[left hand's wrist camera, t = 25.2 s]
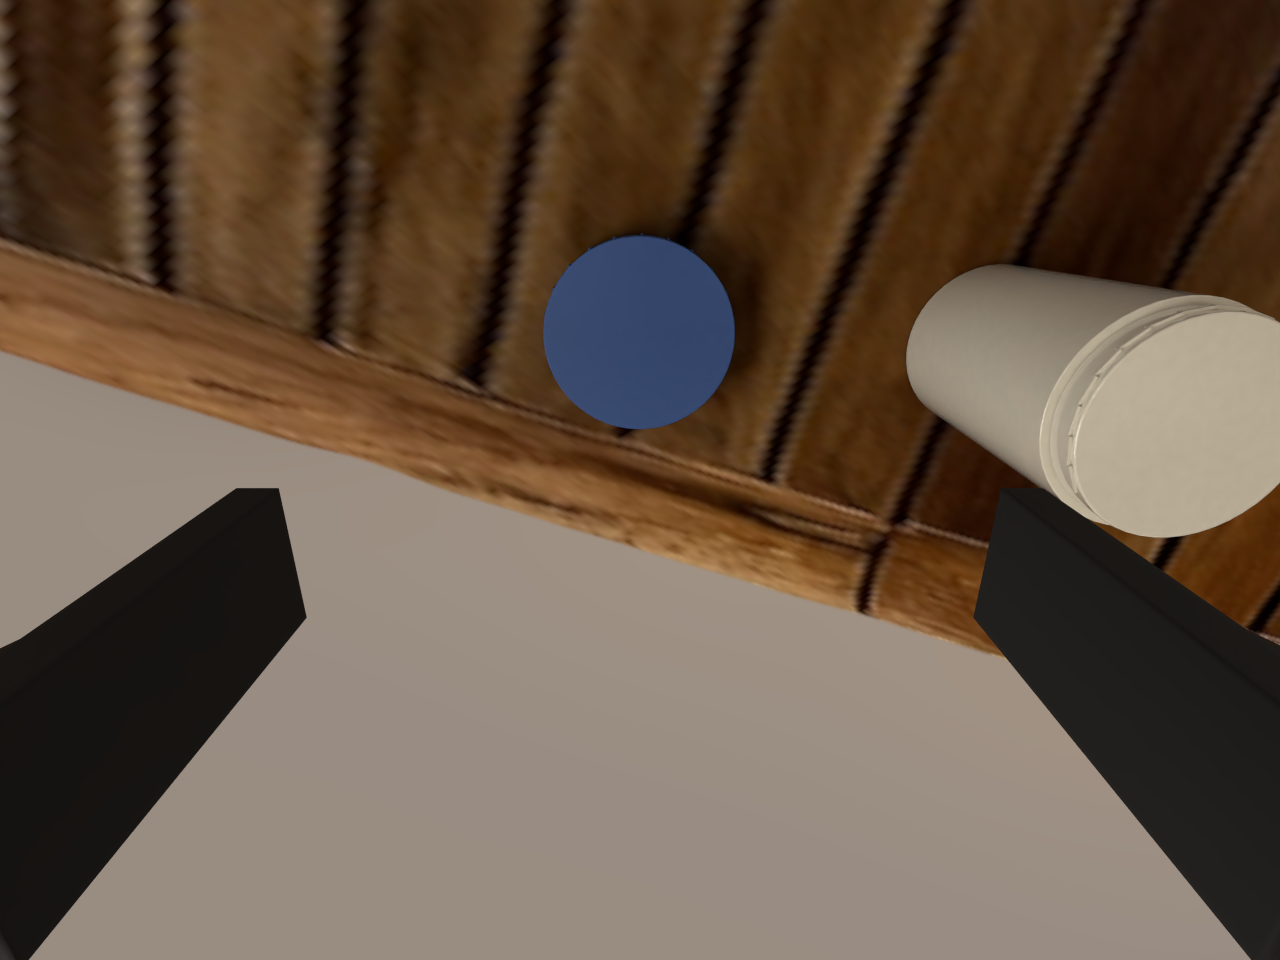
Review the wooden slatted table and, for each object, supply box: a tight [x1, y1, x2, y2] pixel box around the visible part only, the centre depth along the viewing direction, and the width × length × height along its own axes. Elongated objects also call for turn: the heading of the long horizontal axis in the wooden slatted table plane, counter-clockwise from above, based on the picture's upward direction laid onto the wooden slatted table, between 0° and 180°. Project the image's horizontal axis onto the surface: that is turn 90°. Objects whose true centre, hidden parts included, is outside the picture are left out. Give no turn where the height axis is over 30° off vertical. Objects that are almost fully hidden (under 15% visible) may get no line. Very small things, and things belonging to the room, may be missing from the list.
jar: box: [906, 264, 1280, 537], centre depth 30 cm, size 9×9×15 cm
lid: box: [543, 233, 735, 429], centre depth 36 cm, size 10×10×2 cm
